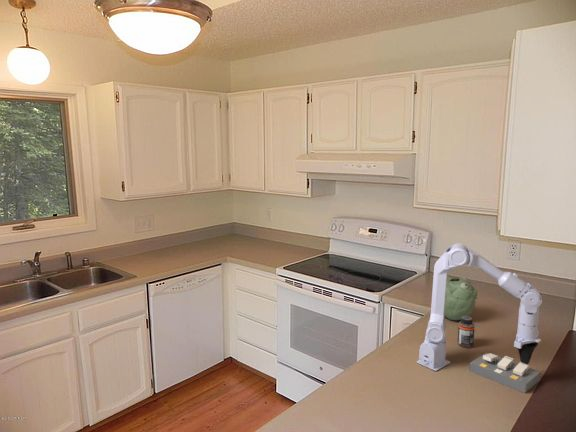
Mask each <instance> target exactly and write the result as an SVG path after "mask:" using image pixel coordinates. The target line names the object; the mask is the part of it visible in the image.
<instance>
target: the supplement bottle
mask: <svg viewBox="0 0 576 432" xmlns="http://www.w3.org/2000/svg"><path fill="white" fill-rule="evenodd" d="M475 326H476V325H475V323H473V318H472V317H471V316H469V315H468V316H462V317H461V320H459V322H458V324H457V345H458V346H460V347H461V348H466V349H470V348H473V347H474V345H475V330H476V329H475Z"/></svg>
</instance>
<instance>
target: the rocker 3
mask: <svg viewBox="0 0 576 432" xmlns="http://www.w3.org/2000/svg"><path fill="white" fill-rule="evenodd" d="M517 364H518V365H517V366H516V367H515V368H514V369H513V373H515V374H517V375H520V376H522V375H523V374H524V373H525V372H526V370H527V369H528V368H530V363H528V364H526V363H523V362H521V360H520V361H519V363H517Z"/></svg>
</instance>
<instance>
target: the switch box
mask: <svg viewBox="0 0 576 432" xmlns="http://www.w3.org/2000/svg"><path fill="white" fill-rule="evenodd" d="M489 353H490V352H489ZM489 353H488V352H487V351H486V352H485V353H483V354H482V355H480V356H478V357H477V358H475V359H474V360H472V361H471V362H470V363H469V372H470V373H474V374H477V375H479V376H481V377H484V378H486V379H489V380H492V381H494V382H496V383H499V384H501V385H504V386H506V387H509V388H511V389H513V390H516V391H518V392H521V393H523V394H526V393H527V392H529V390H531V389H532V388H533V387H534V386H536V384H537V383H539V382H540V381H541V375H542V374H541V372H542V371H539V370H537V369H534V368H531V367H529V368H528V369H527V370H526V372H525V373H524V374H523V375H522V376H520V375H517V374H515V373H513V369H514V368H515V367H516V366H517V365H518V364H519V363H517V362H515V361H514V362H513V363H511V364H510V366H509V367H508V368H507V369H506V370H504V369H501V368H499V367H497V364H498V363H499V362H500V361H501V360H502V359H503V358H504V357H501V356H499V357H498V360H497V358H495V361H491V362H490V361H487V360H485V359H483V355H486V354H489Z"/></svg>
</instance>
